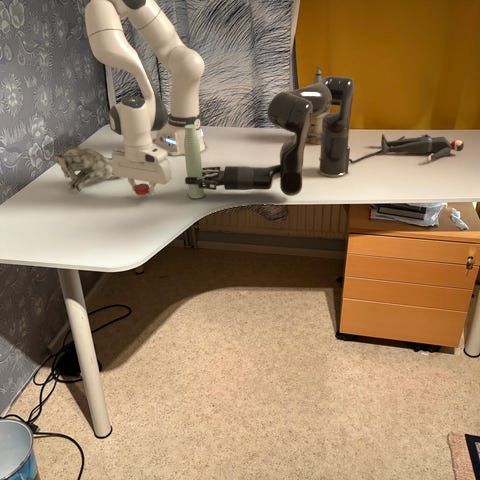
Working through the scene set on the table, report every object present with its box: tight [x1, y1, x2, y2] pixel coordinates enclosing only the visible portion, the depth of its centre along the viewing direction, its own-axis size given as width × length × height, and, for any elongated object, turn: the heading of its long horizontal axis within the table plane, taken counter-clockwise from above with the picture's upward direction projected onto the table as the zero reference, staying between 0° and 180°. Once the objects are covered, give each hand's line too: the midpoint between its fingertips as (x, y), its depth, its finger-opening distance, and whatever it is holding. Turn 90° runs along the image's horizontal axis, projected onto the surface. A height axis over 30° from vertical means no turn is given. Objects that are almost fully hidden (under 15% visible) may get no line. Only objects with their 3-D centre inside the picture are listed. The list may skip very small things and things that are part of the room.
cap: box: [134, 183, 150, 196], centre depth 172 cm, size 5×5×2 cm
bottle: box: [184, 125, 205, 199], centre depth 169 cm, size 5×5×23 cm
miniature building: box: [306, 65, 333, 145], centre depth 213 cm, size 13×14×30 cm
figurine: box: [54, 146, 117, 193], centre depth 180 cm, size 10×19×20 cm
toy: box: [380, 133, 465, 162], centre depth 205 cm, size 26×6×30 cm
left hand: (143, 192), depth 173 cm, fingers closed on cap, 4 cm apart
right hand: (186, 177), depth 172 cm, fingers closed on bottle, 5 cm apart
